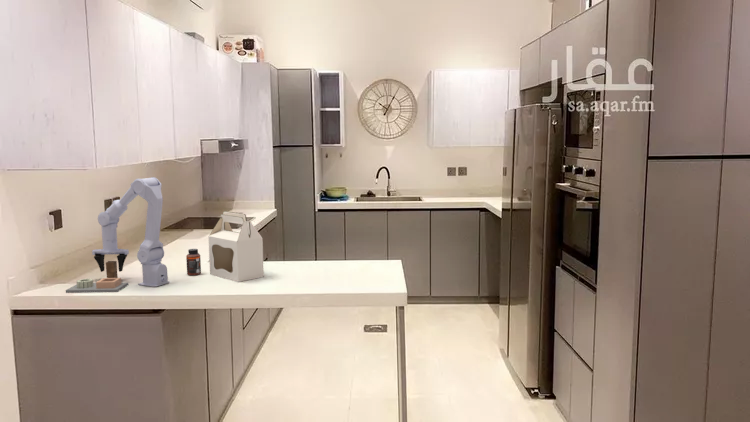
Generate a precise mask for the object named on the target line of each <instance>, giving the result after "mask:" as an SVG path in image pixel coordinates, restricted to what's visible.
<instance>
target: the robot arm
mask: <svg viewBox="0 0 750 422" xmlns="http://www.w3.org/2000/svg"><path fill="white" fill-rule="evenodd" d="M162 185H163V184H162V182H160V180H159V179H158V178H157V177H154V176H151V177H147V178H145V177H143V178H139V177H138V178H135V179H134V180H133V181H132V182H131V183H130V186H129V188H128V189H127V190H126V192H125V193H124V194H123V196H122V197H121V198H120V199H116V200H115V199H114V200H113V201H112V202H111V205H110V206H109V207H107V208H106V210H105V211H101V212H100V213H99V214H98V216H97V222H98V224H99V225H100V226H101V240H102V249H101V248H99V249H92V251H91V255H92V256H93V258H94V260H95V261H96V263H97V265H98V267H99V270H100V272H101V273H103V272H104V271H105V255H116V259H117V263H118V265H117V266H118V272H123V270H124V269H123V268H124V263H125V261H126V259H127V256H128V255H129V254H130V253H129V248H127V249H125V248H118V247H119V246H118V232H117V231H118V230H117V229H118V224H119V222H120V217H121V216H122V215H123V214H124V213H125V212H126V211H127V210H128V205H129V204H130V203H131V202H132V201H134V199H136V197H138V196H139V197H141V198H142V199H143V200H144V201H146V202H147V210H146V221H145V231H144V240H143V241H142V243H141V244H140V245H139V249H138V251H137V255H136V256H137V260H138V261H139V263H140V265H141V269H142V272H141V273H142V282H139V283H138V284H137V285H138V286H145V287H154V288H155V287H159V286H163V285H166V284H169V283H170V281H168V280H169V278H168V276H169V275H168V267H167V265H166V264H164V263H162V259H163V258H164V256H165V250H164V243H163V242H162V241H160V236H161V235H160V233H161V222H162V214H163V201H164V200H163V199H164V198H163V193H162Z"/></svg>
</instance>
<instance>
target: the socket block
mask: <svg viewBox="0 0 750 422" xmlns="http://www.w3.org/2000/svg"><path fill="white" fill-rule="evenodd" d="M127 285H128V286H129V282H122V277H118V278H107V277H103V278H101V279H99V280H97V281H95V282H94V279H93V278H80V279H78V280H76V284H74V285H73V286H71V287H70V288H67V289H66V290H65V293H66V294H67V293H71V294H72V293H75V294H76V293H77V294H78V293H119V292H120V291H122V290H123V289H124V288H126V287H128V286H127ZM125 286H126V287H125ZM123 287H124V288H123ZM122 288H123V289H122ZM119 290H120V291H119Z"/></svg>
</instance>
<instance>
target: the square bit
mask: <svg viewBox="0 0 750 422" xmlns="http://www.w3.org/2000/svg"><path fill="white" fill-rule="evenodd" d="M117 263H118V260H108V261H106V262H105V270H106V271H105V272H106V278H119V277H118V265H117Z"/></svg>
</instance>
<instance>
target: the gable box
mask: <svg viewBox="0 0 750 422" xmlns="http://www.w3.org/2000/svg"><path fill="white" fill-rule="evenodd" d="M222 213H223V214H222ZM222 213H221V214H220V218H219V219H218V221H217V223H216V224H215V225H214V227H213V229H212V230H211V232H210V233H209V235H208V253H209V254H208V255H209V256H208V257H209V258H208V259H209V260H208V261H209V275H210V276H215V277H219V278H222V279H226V280H229V281H232V282H233V281H234V282H236V283H242V282H246V281H249V280H255V279H258V278H259V277H260V278H263V277H264V276H265V275H264V246H263V245H264V243H263V242H264V241H263V239H264V238H263V237H262V235H261V234H260V232H259V231H258V230H257V228H256V227H255V226H254V224H253V223H252V222H251V221H249V220H247V214H245V213H238V212H233V211H227V210H225V211H223V212H222ZM230 223H231V224H239V225H241V228H240V232H239V231H238V232H237V231H234V230H233V229H232V227H231V224H230ZM260 278H259V279H260Z"/></svg>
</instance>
